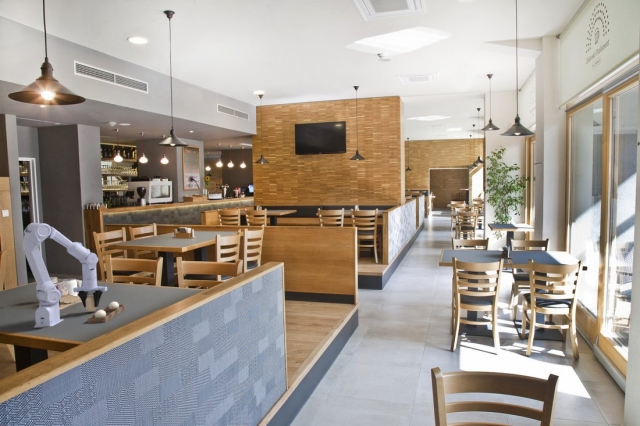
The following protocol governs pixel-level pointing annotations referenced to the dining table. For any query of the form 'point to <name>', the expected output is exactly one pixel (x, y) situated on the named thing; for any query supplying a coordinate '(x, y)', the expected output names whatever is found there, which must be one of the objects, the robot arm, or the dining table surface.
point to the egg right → (113, 305)
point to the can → (71, 285)
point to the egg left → (100, 313)
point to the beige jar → (90, 304)
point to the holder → (107, 314)
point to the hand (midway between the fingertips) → (91, 306)
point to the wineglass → (54, 280)
